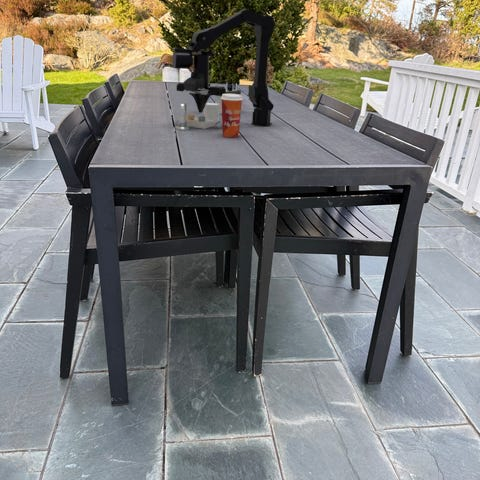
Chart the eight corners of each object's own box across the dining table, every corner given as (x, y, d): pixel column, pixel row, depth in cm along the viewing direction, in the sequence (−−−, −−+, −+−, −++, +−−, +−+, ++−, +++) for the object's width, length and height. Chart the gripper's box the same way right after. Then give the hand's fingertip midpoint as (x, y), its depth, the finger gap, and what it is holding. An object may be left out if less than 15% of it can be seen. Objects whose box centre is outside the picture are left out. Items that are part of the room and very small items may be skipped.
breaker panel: (214, 125, 172) (215, 116, 170) (204, 128, 165) (204, 119, 164) (189, 121, 177) (189, 112, 175) (177, 124, 170) (177, 115, 169)
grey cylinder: (217, 123, 177) (218, 105, 174) (201, 122, 178) (201, 104, 175) (221, 120, 183) (222, 103, 180) (205, 119, 184) (206, 102, 181)
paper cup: (225, 138, 151) (226, 96, 145) (216, 134, 157) (217, 93, 151) (245, 137, 155) (247, 96, 149) (235, 133, 161) (237, 93, 155)
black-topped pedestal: (236, 121, 186) (237, 88, 180) (186, 113, 197) (185, 82, 191) (265, 113, 208) (267, 84, 202) (219, 107, 219) (219, 79, 214)
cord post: (191, 128, 164) (191, 103, 160) (184, 130, 160) (184, 105, 156) (180, 127, 166) (180, 102, 162) (173, 128, 162) (172, 103, 158)
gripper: (167, 67, 159) (168, 112, 165) (211, 72, 151) (210, 118, 158) (184, 66, 168) (184, 108, 174) (227, 70, 160) (225, 114, 167)
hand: (200, 112), depth 168 cm, fingers closed
